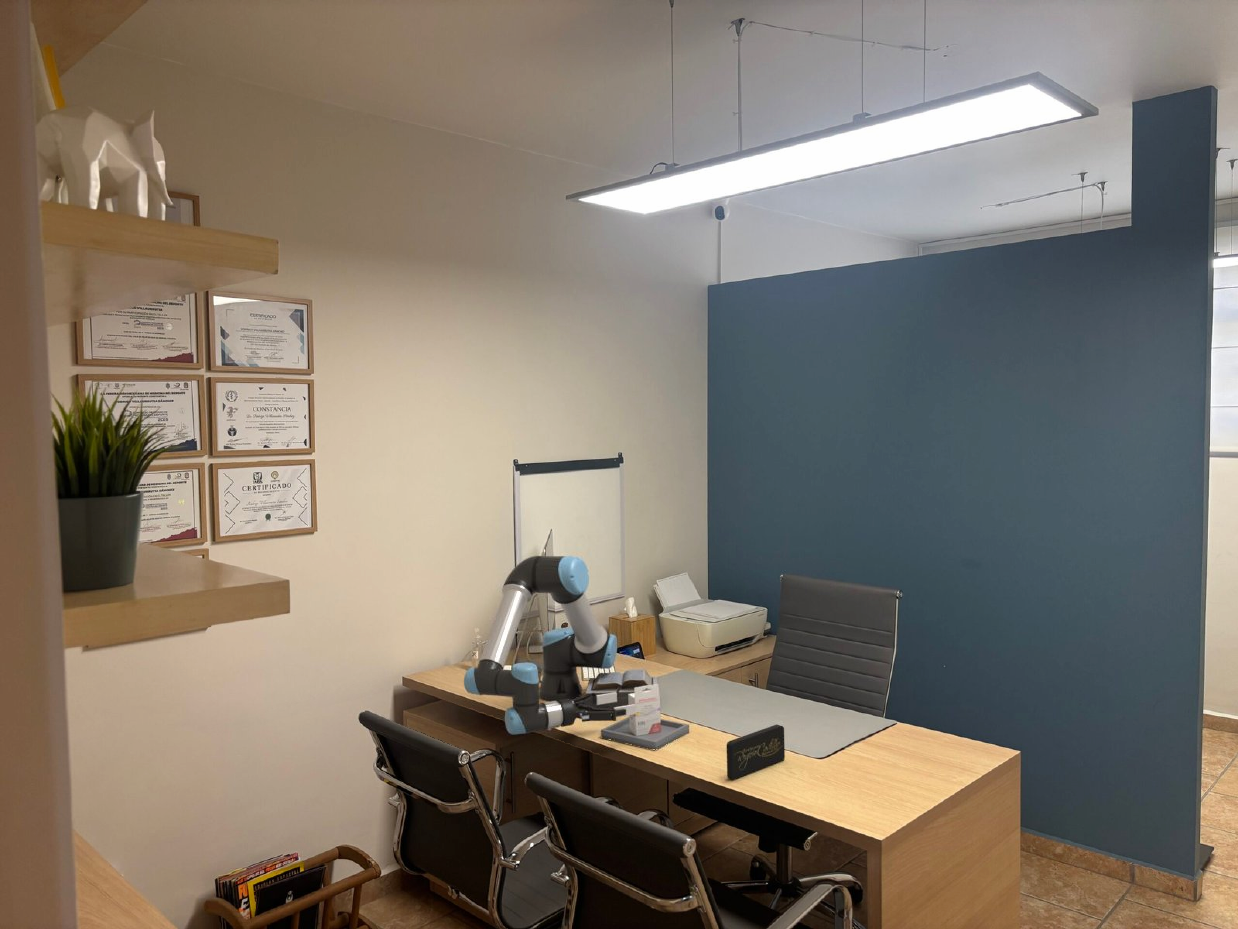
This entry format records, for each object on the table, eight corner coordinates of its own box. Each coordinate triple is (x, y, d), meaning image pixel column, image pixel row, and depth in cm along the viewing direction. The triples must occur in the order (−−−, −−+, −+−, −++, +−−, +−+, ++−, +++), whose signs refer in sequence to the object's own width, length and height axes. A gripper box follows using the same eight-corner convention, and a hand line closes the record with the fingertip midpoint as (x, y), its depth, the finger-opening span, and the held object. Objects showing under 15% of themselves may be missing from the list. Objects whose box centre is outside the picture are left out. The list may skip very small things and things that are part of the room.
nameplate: (732, 781, 233) (731, 744, 232) (727, 779, 234) (726, 742, 234) (784, 761, 246) (784, 725, 246) (779, 759, 247) (778, 723, 247)
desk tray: (635, 721, 283) (635, 713, 283) (689, 732, 271) (688, 724, 271) (601, 738, 268) (600, 729, 268) (655, 750, 256) (655, 742, 256)
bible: (655, 715, 289) (654, 685, 288) (575, 712, 295) (574, 682, 295) (668, 694, 311) (667, 666, 311) (593, 691, 318) (592, 664, 317)
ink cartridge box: (654, 727, 274) (652, 679, 273) (661, 732, 269) (660, 683, 269) (628, 731, 270) (627, 683, 270) (635, 736, 266) (634, 688, 265)
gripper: (545, 714, 270) (609, 704, 278) (574, 739, 247) (643, 727, 255) (544, 690, 269) (608, 680, 278) (573, 713, 246) (642, 701, 255)
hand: (625, 703), depth 266 cm, fingers open, 13 cm apart
